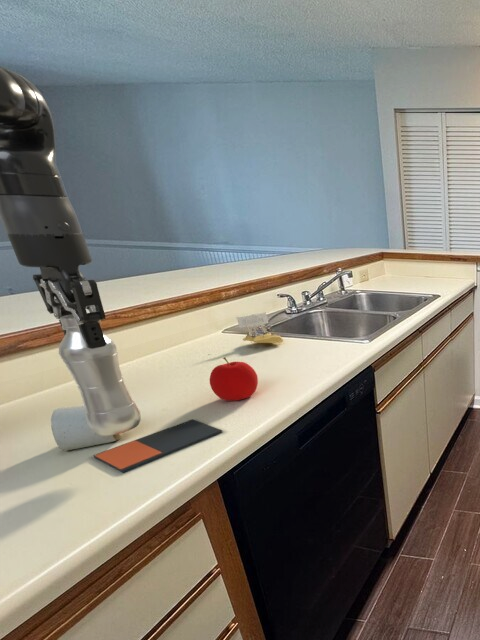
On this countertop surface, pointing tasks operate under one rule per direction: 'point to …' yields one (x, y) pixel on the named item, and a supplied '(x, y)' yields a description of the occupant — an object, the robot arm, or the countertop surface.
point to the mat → (156, 445)
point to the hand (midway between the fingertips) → (87, 343)
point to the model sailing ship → (259, 336)
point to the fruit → (233, 381)
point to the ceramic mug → (76, 429)
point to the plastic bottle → (98, 382)
